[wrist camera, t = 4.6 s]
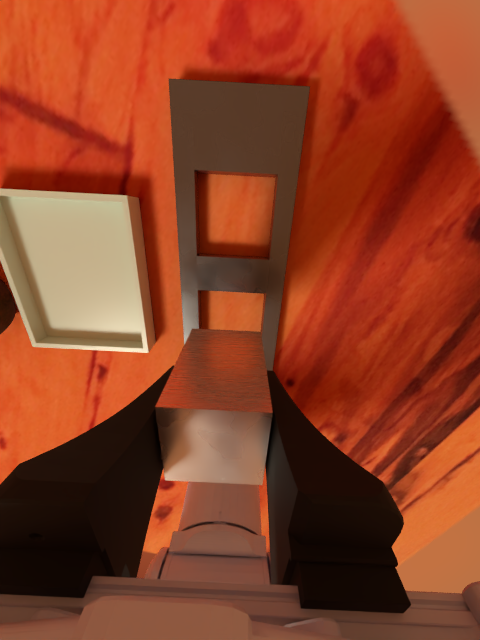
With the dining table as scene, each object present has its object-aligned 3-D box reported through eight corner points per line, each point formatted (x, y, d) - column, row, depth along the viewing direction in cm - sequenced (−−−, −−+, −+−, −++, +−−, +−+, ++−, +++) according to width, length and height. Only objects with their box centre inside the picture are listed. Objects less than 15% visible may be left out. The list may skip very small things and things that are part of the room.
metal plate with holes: (266, 397, 24) (267, 406, 23) (190, 393, 24) (187, 402, 23) (304, 96, 14) (309, 86, 13) (174, 89, 14) (168, 78, 13)
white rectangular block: (255, 386, 15) (262, 485, 9) (194, 383, 15) (165, 480, 9) (260, 332, 13) (272, 412, 8) (192, 328, 13) (154, 406, 8)
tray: (155, 342, 21) (148, 352, 20) (49, 336, 21) (32, 346, 20) (138, 197, 16) (127, 195, 15) (-1, 190, 16) (-28, 186, 15)
